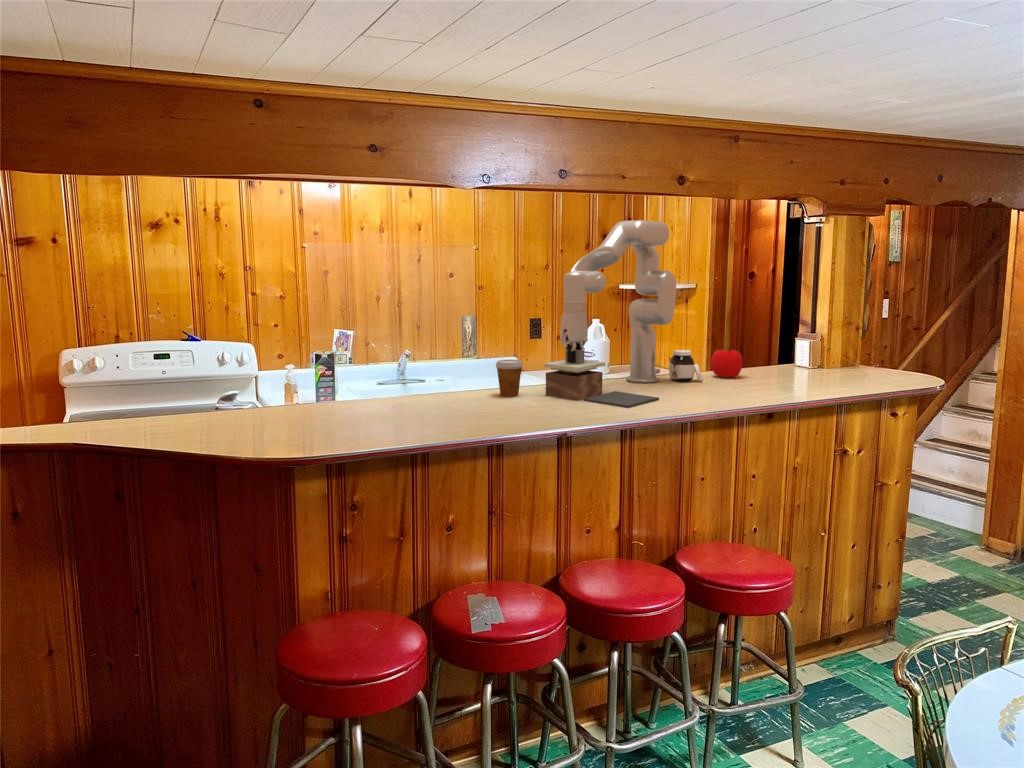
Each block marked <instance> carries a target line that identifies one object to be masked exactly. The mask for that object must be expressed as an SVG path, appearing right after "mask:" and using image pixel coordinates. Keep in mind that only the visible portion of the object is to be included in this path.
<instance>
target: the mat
mask: <svg viewBox="0 0 1024 768" xmlns="http://www.w3.org/2000/svg"><path fill="white" fill-rule="evenodd" d="M659 400H660V397H657V396H653V395H652V396H649V395H644V394H637V393H628V392H623V391H616V390H615V391H611V392H606V393H602V394H601V395H597V396H592V397H588V398H584V399H583V402H587V403H593V404H594V403H596V404H601V405H608V406H613V407H621V408H626V409H629V408H634V407H637V406H641V405H645V404H648V403H652V402H656V401H659Z"/></svg>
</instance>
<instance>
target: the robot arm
mask: <svg viewBox="0 0 1024 768" xmlns="http://www.w3.org/2000/svg"><path fill="white" fill-rule="evenodd" d="M669 238H670V229H669V227H668V225H667V224H666V223H664V222H662V221H652V220H642V219H638V220H636V219H634V220H622V221H621V220H620V221H619V222H617V223H615V224H614V226H613V227H612V228H611V230H610V231H609V233H607V235H606V237H604V240H603V241H602V243H600V245H599V246H598V247H596V248H595V249H593V250H591V251H590V252H588V253H587V254H585V255H583V256H582V257H581V258H580V259H578V260H577V262H575V264H574V265H573V267H571V270H570V271H569V272H566V273H564V275H563V312H562V315H561V322H560V333H559V334H560V336H559V337H560V338H559V339H560V341H561V345H562V346H563V347H565V350H567V361H568V362H572V363H575V362H576V352H575V351H574V349H577V350H584V346H585V344H586V343H587V342H588V341H589V339H588V337H589V335H588V333H589V331H588V325H589V324H588V317H587V311H586V309H587V308H586V307H587V306H586V305H587V304H586V303H587V302H586V300H587V299H586V298H587V295H586V294H587V293H589V294H595V293H597V294H598V293H600V292H601V291H603V290H604V288H605V287H606V285H607V279H606V278H607V277H606V276H605V275H604V274H603V273H602V272H600V271H598V270H601V269H604V268H607V267H609V266H612V265H614V264H616V263H618V262H619V261H620V260H621V257H622V256H623V255H624V253H625V252H626V251H627V249H628V248H629V246H631V248H632V250H634V253H635V257H636V266H635V277H634V289H635V291H636V293H637V294H639V295H641V296H653V297H654V296H657V299H653V298H638V299H635V300H633V301H632V302H630V304H629V307H628V318H629V323H630V366H629V369H630V370H629V375H627V376H626V377H625V380H626V381H627V382H629V383H630V382H631V383H637V384H650V383H652V384H653V383H658V382H659V381H660V378H659V377H658V376H656V375H657V374H661V369H660V368H656V351H657V350H656V347H657V346H656V345H657V344H656V343H657V335H656V331H655V328H654V326H653V325H655V326H666V325H669V324H671V322H672V321H673V319H674V314H675V307H676V306H675V305H676V297H677V296H676V295H677V279H676V277H675V275H674V273H673V272H671V271H670V270H665V269H663V270H662V269H660V255H659V252H658V250H657V249H656V247H657V246H659V247H660V246H663V245H665V244H666V243H667V242H668V240H669Z"/></svg>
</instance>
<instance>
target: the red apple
mask: <svg viewBox="0 0 1024 768" xmlns="http://www.w3.org/2000/svg"><path fill="white" fill-rule="evenodd" d="M742 367H743V357H742V354H741V353H740V352H739V351H738V350H736V349H730V348H727V349H723V348H720V349H718V350H715V351H714V352H713V354H712V356H711V359H710V368H711V371H712V372H713V374H714V375H716V376H717V377H720V378H727V379H732V378H736V377H738V376H739V375H740V374H741V371H742Z"/></svg>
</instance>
